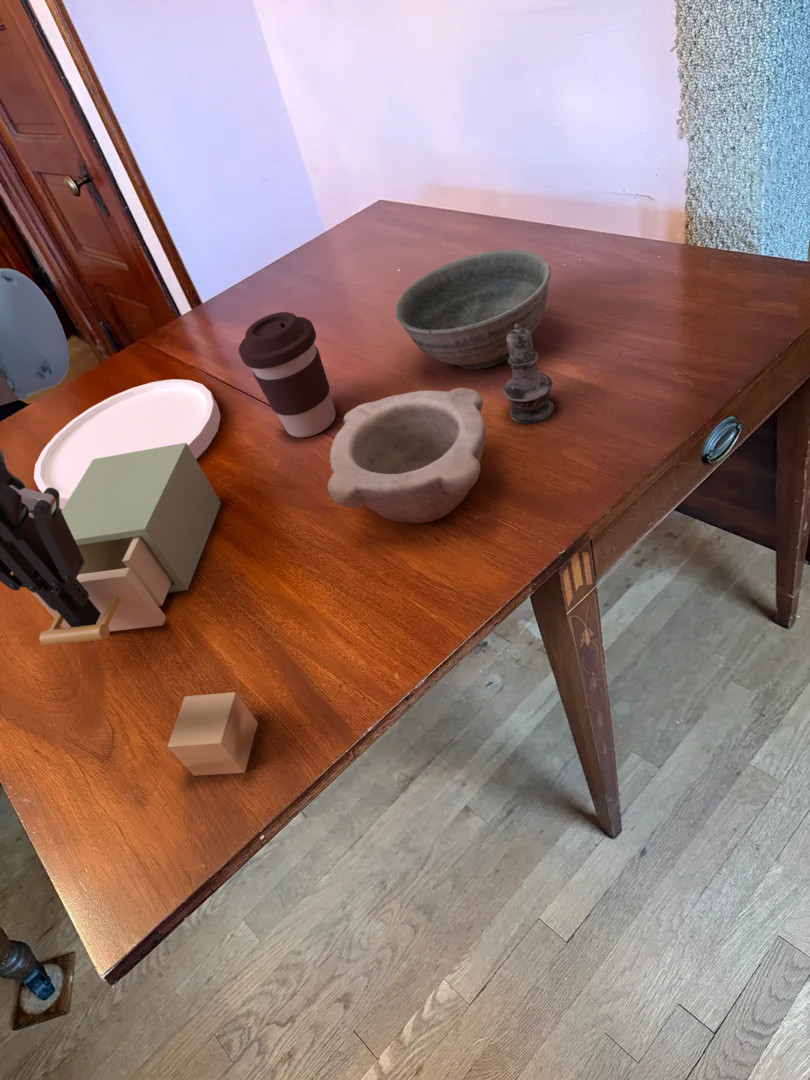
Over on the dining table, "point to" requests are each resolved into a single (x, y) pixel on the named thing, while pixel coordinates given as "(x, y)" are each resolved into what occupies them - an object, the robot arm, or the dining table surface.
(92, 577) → the drawer
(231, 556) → the dining table surface
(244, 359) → the coffee cup
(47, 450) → the plate
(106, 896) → the dining table surface
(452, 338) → the bowl
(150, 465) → the cabinet
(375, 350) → the dining table surface
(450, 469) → the mortar
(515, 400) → the grey stone chess piece
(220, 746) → the block
